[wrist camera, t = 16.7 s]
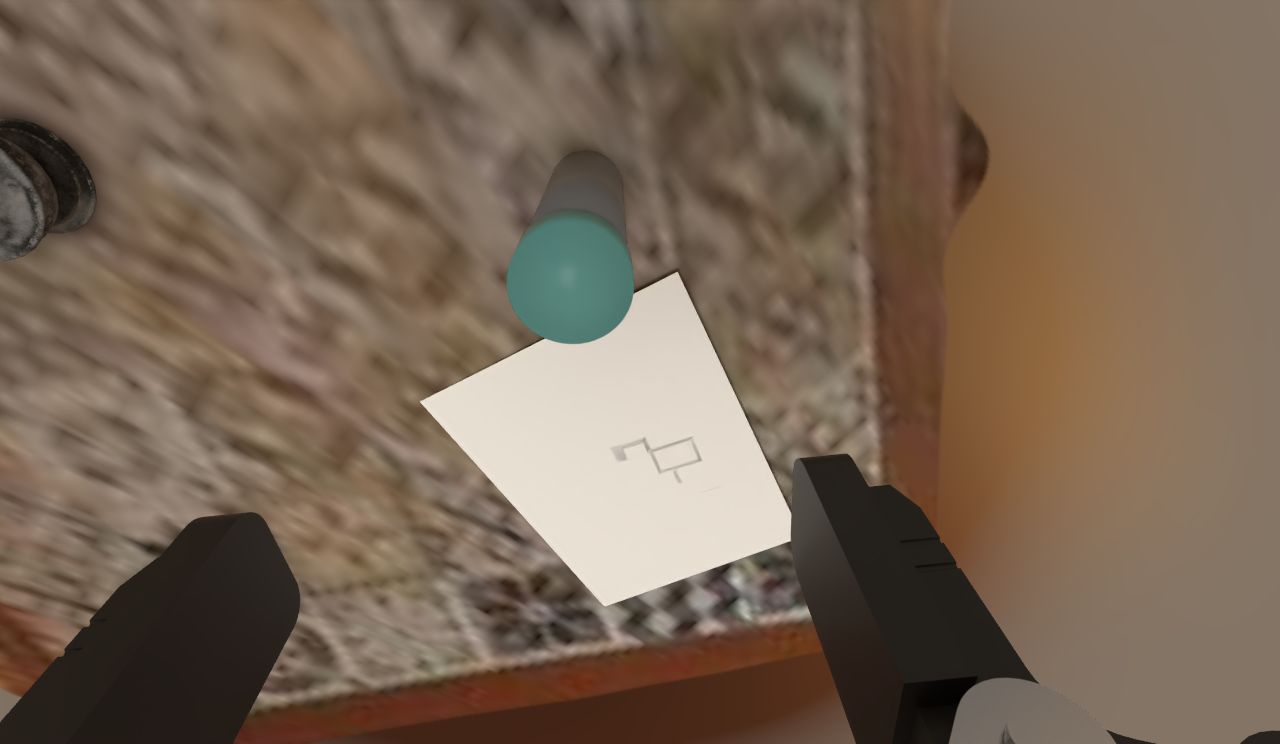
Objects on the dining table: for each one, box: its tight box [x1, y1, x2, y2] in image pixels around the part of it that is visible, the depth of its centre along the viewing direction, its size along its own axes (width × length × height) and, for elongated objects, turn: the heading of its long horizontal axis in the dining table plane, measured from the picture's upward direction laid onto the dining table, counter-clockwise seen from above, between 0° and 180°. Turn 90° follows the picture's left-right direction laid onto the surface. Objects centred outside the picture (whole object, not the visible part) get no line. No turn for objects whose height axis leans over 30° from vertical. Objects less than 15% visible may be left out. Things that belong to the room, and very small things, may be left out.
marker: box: [507, 151, 634, 344], centre depth 24 cm, size 4×4×14 cm
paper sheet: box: [420, 272, 791, 607], centre depth 40 cm, size 24×29×1 cm
